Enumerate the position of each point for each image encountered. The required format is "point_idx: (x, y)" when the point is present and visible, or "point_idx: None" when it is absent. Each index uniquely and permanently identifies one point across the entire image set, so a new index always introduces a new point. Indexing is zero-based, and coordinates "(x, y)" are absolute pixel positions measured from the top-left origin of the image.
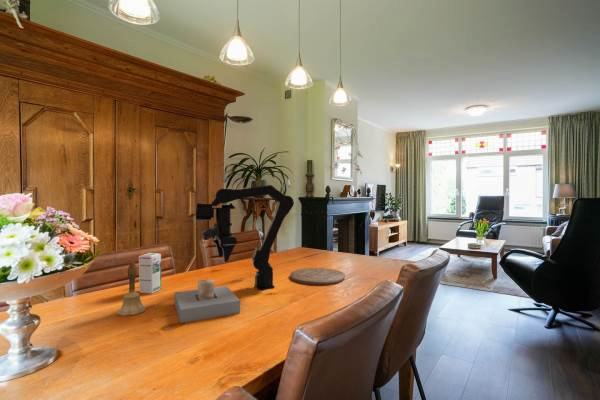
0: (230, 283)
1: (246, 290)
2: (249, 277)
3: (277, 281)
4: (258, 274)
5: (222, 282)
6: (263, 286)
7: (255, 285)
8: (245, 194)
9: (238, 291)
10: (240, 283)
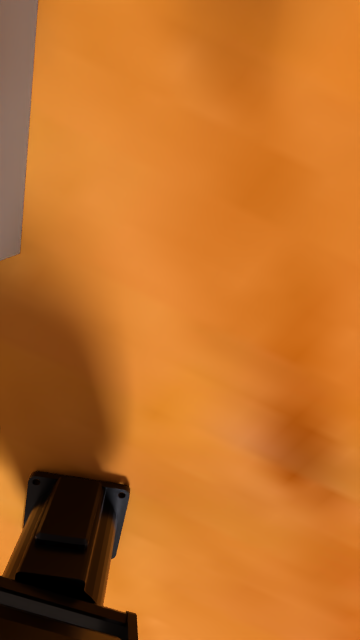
0: (277, 401)
1: (70, 410)
2: (306, 534)
3: (128, 596)
4: (25, 562)
5: (338, 372)
6: (35, 503)
7: (87, 481)
8: None
9: (79, 364)
10: (231, 446)
